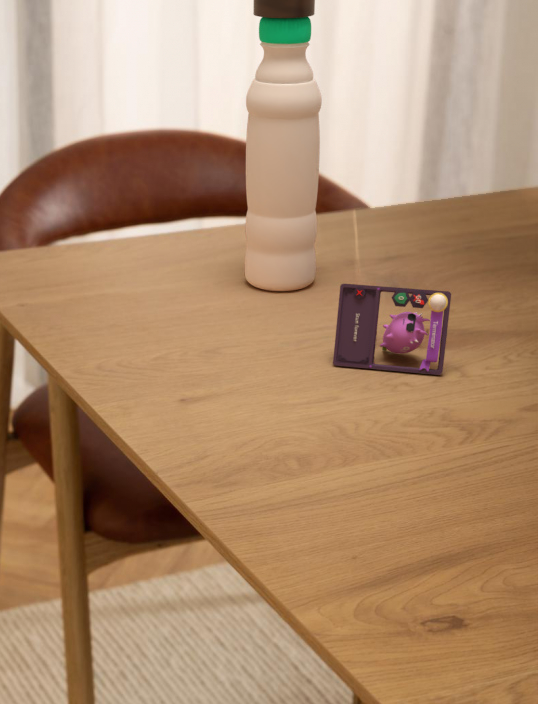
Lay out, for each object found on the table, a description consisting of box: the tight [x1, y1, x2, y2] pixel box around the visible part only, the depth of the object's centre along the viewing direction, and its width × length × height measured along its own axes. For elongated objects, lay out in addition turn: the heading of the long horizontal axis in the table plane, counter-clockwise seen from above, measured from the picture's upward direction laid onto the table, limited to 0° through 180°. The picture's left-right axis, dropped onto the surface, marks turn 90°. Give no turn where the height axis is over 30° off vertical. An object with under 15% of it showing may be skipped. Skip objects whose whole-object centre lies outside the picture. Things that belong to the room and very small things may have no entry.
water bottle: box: [244, 16, 322, 292], centre depth 113 cm, size 7×7×25 cm
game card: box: [332, 283, 452, 376], centre depth 99 cm, size 7×5×9 cm
